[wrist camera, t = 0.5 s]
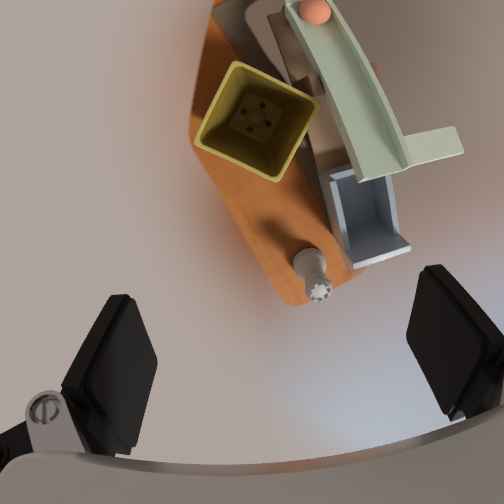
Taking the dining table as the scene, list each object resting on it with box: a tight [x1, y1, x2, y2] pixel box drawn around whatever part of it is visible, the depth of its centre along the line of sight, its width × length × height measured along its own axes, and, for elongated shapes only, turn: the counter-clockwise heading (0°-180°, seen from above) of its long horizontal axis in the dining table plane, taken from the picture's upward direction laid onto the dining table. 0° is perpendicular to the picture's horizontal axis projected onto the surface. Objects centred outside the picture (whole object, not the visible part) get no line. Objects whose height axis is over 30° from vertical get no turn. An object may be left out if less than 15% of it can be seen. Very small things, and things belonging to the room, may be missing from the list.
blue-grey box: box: [317, 163, 411, 269], centre depth 34 cm, size 7×9×9 cm
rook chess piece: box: [293, 248, 333, 303], centre depth 39 cm, size 4×4×8 cm
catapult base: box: [267, 5, 384, 172], centre depth 28 cm, size 7×20×10 cm, turn 18°
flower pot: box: [194, 61, 320, 182], centre depth 30 cm, size 9×9×9 cm
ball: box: [299, 0, 331, 25], centre depth 22 cm, size 3×3×3 cm
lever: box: [284, 0, 464, 183], centre depth 23 cm, size 11×19×3 cm, turn 18°
